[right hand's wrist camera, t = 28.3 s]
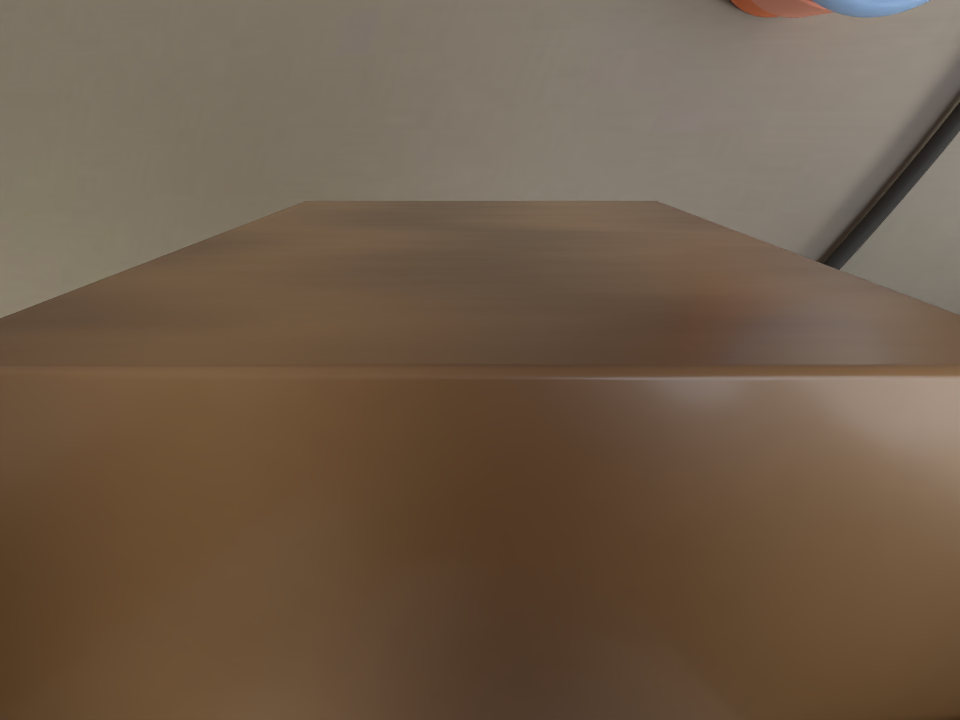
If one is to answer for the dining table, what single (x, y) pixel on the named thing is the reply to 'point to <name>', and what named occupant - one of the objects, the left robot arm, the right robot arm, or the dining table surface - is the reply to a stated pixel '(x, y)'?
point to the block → (480, 477)
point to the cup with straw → (825, 7)
